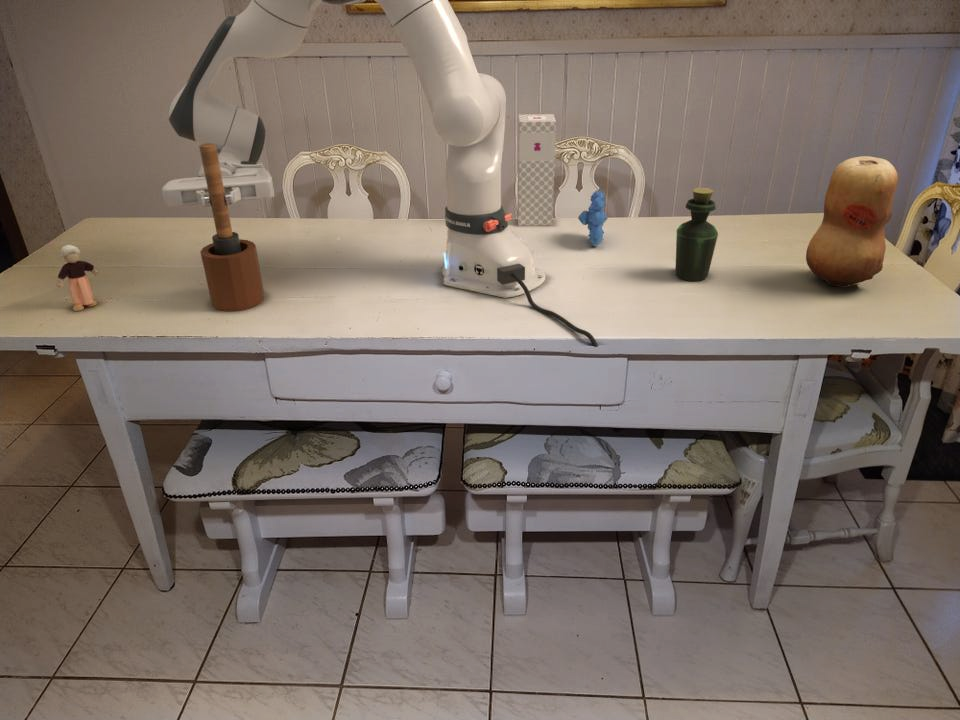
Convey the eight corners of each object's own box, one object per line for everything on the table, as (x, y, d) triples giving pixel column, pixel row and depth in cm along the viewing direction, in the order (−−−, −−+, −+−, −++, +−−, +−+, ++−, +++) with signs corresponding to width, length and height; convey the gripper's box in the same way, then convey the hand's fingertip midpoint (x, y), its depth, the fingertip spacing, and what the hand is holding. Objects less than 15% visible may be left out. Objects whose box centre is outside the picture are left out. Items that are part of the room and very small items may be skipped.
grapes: (577, 233, 175) (579, 184, 169) (605, 234, 174) (608, 184, 168) (576, 251, 165) (578, 199, 159) (606, 251, 164) (610, 199, 158)
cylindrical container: (274, 298, 145) (265, 246, 140) (231, 316, 139) (219, 262, 133) (245, 286, 151) (235, 235, 146) (202, 302, 145) (190, 250, 139)
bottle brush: (249, 269, 142) (226, 144, 130) (228, 276, 139) (202, 149, 127) (235, 263, 145) (211, 140, 133) (214, 270, 142) (187, 145, 130)
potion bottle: (718, 274, 152) (731, 189, 143) (699, 286, 147) (712, 199, 138) (683, 264, 157) (694, 182, 148) (663, 276, 152) (673, 191, 143)
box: (517, 214, 188) (518, 114, 176) (550, 214, 188) (553, 114, 176) (518, 225, 181) (519, 121, 168) (552, 225, 181) (556, 121, 168)
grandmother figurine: (74, 314, 140) (54, 253, 134) (63, 310, 142) (42, 249, 136) (110, 300, 146) (92, 240, 140) (99, 296, 148) (81, 236, 142)
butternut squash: (801, 292, 144) (829, 165, 131) (800, 267, 155) (825, 148, 142) (879, 301, 139) (915, 171, 127) (872, 275, 150) (905, 152, 138)
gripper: (162, 169, 142) (153, 189, 130) (270, 161, 146) (271, 179, 135) (169, 201, 145) (162, 223, 133) (275, 192, 150) (276, 212, 138)
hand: (218, 201), depth 134 cm, fingers closed on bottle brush, 3 cm apart
